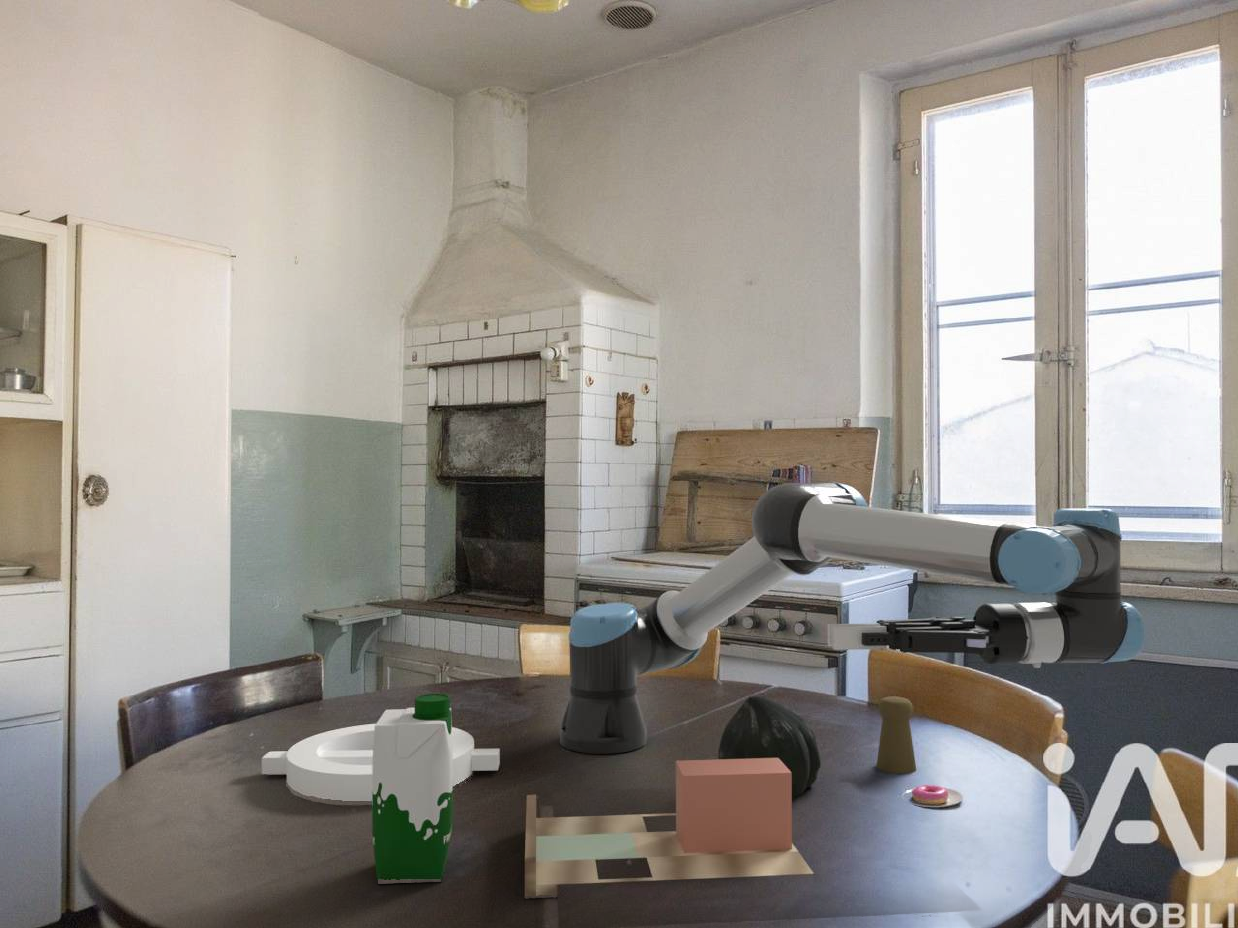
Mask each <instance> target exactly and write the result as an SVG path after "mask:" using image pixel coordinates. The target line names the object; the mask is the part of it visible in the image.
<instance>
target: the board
mask: <svg viewBox="0 0 1238 928" xmlns="http://www.w3.org/2000/svg"><path fill="white" fill-rule="evenodd" d="M525 812H526V813H525V814H526V815H525V817H526V818H525V842H524V843H525V846H524V847H525V848H524V897H525V896H538V895H559V894H558V885H577V884H578V885H579V884H580V885H581V884H603V883H623V882H625V883H626V882H650V881H651V882H652V881H654V882H655V881H671V880H672V881H675V880H676V881H677V880H696V879H697V880H699V879H702V880H703V879H723V878H725V879H726V878H746V877H747V878H748V877H749V878H750V877H771V876H772V877H773V876H774V877H775V876H777V877H778V876H797V875H798V876H799V875H814V872H813V870H812V869H811V867H810V866H809V865H808V863H807V862H806V860H805V859H804V857H803V856H802V854H801V853H800V852H799V850H798V849H797V847H796V846H795V845H794V844H793V842H792V849H778V850H752V851H726V852H700V853H683V850H682V847H681V845H680V842H679V840H678V837H677V835H676V830H675V831H673V830H672V831H669V830H668V831H648V830H647V826H646V824H645V820H644V818H645V817H668V816H669V817H670V816H671V817H672V816H673V817H674V816H675V817H676V812H674V813H673V812H672V813H671V812H670V813H646V814H645V813H644V814H643V813H641V814H640V813H639V814H615V815H613V814H612V815H611V814H610V815H588V816H587V815H586V816H585V815H584V816H557V817H555V816H554V817H537V794H527V795H526V811H525ZM643 817H644V818H643ZM614 833H632V837H633V841H634V844H635V848H636V852H637V855H638V858H637V859H645V858H646V860H647V864H648V867H649V871H650V874H651V877H631V878H630V877H628V878H607V879H606V878H605V879H604V878H602V879H599V876H598V870H597V863H596V860H595V859H588V860H563V861H562V860H561V861H537V862H536V836H558V835H586V834H614Z"/></svg>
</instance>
